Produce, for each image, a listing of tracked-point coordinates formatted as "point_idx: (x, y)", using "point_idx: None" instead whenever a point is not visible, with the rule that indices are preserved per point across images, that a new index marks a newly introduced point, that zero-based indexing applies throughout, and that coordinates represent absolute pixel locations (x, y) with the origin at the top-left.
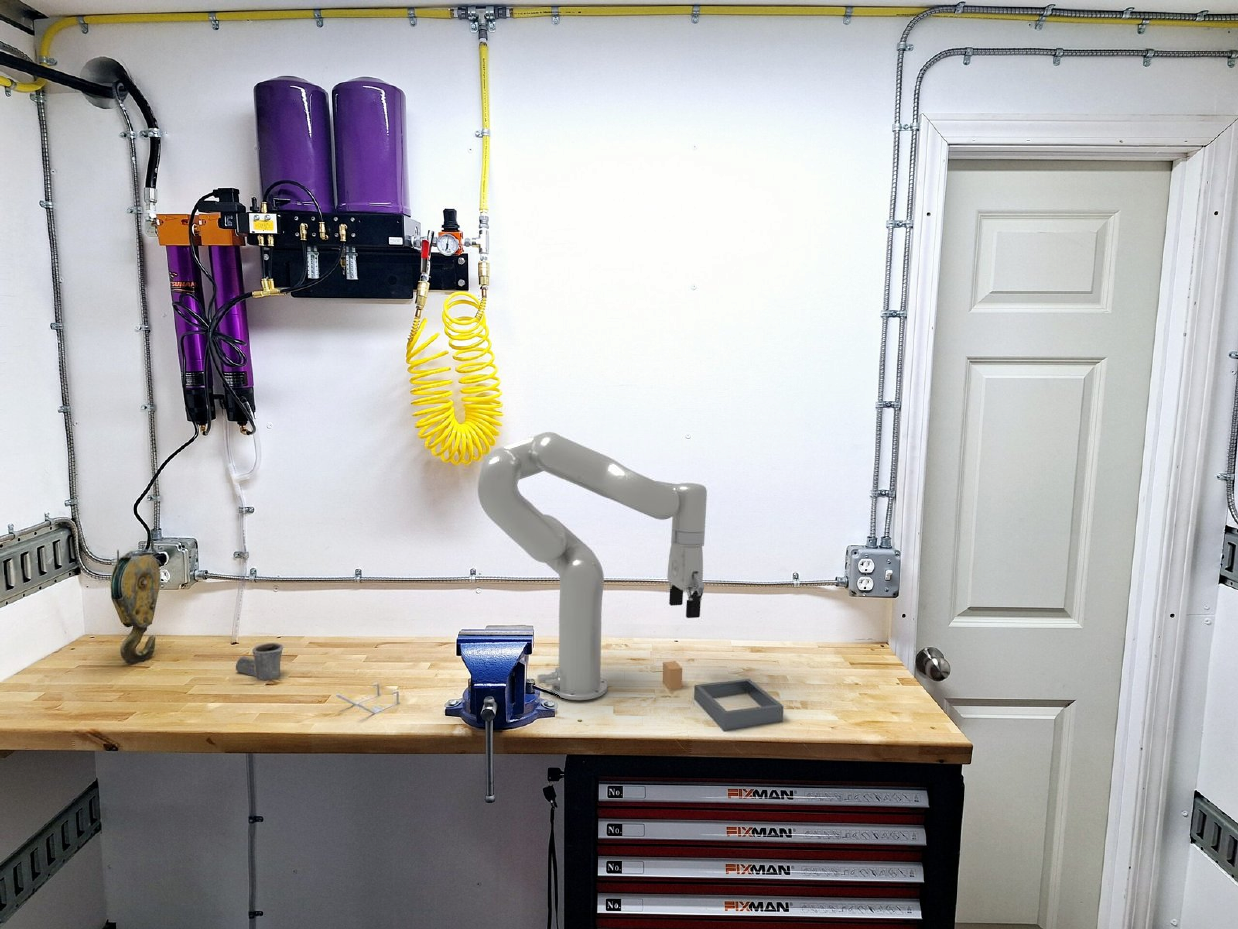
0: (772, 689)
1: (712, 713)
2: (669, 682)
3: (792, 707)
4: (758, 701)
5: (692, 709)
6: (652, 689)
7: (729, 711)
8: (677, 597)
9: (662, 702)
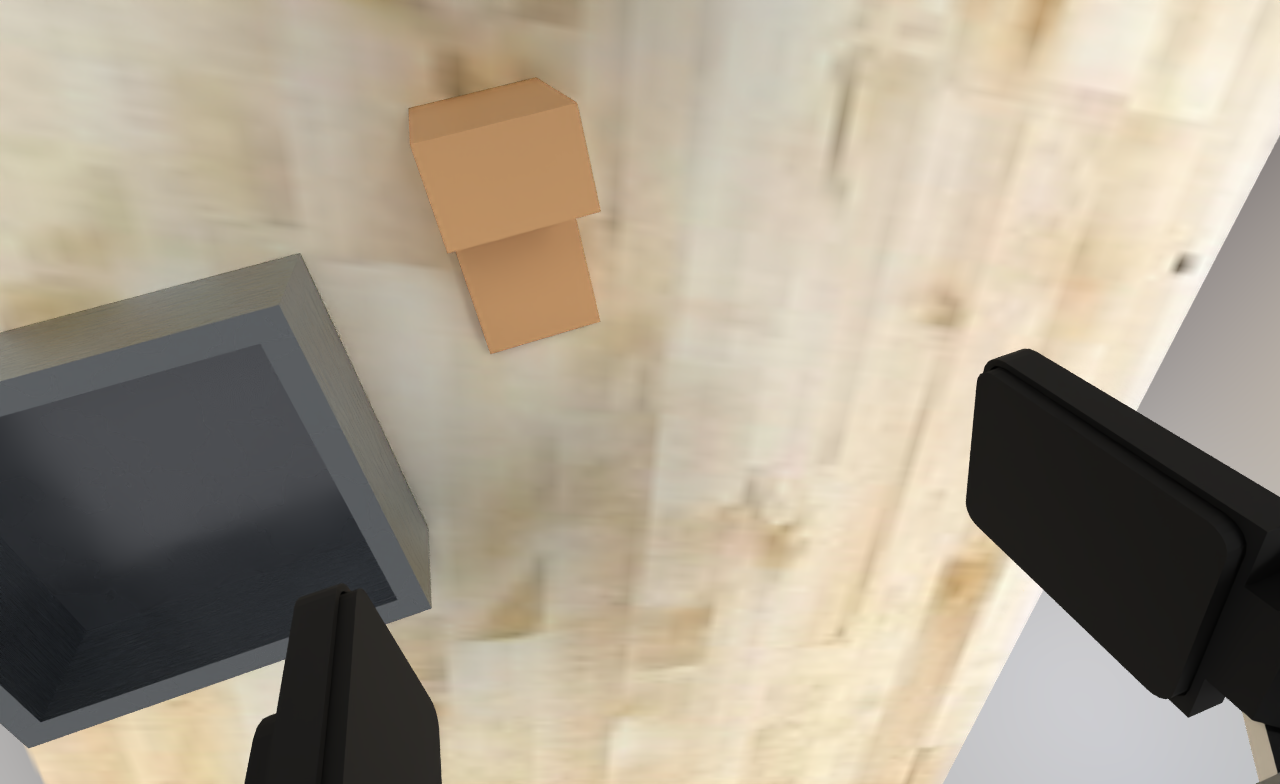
0: (558, 619)
1: None
2: (414, 124)
3: None
4: (267, 599)
5: (258, 239)
6: (570, 9)
7: None
8: (1062, 528)
9: (348, 48)
